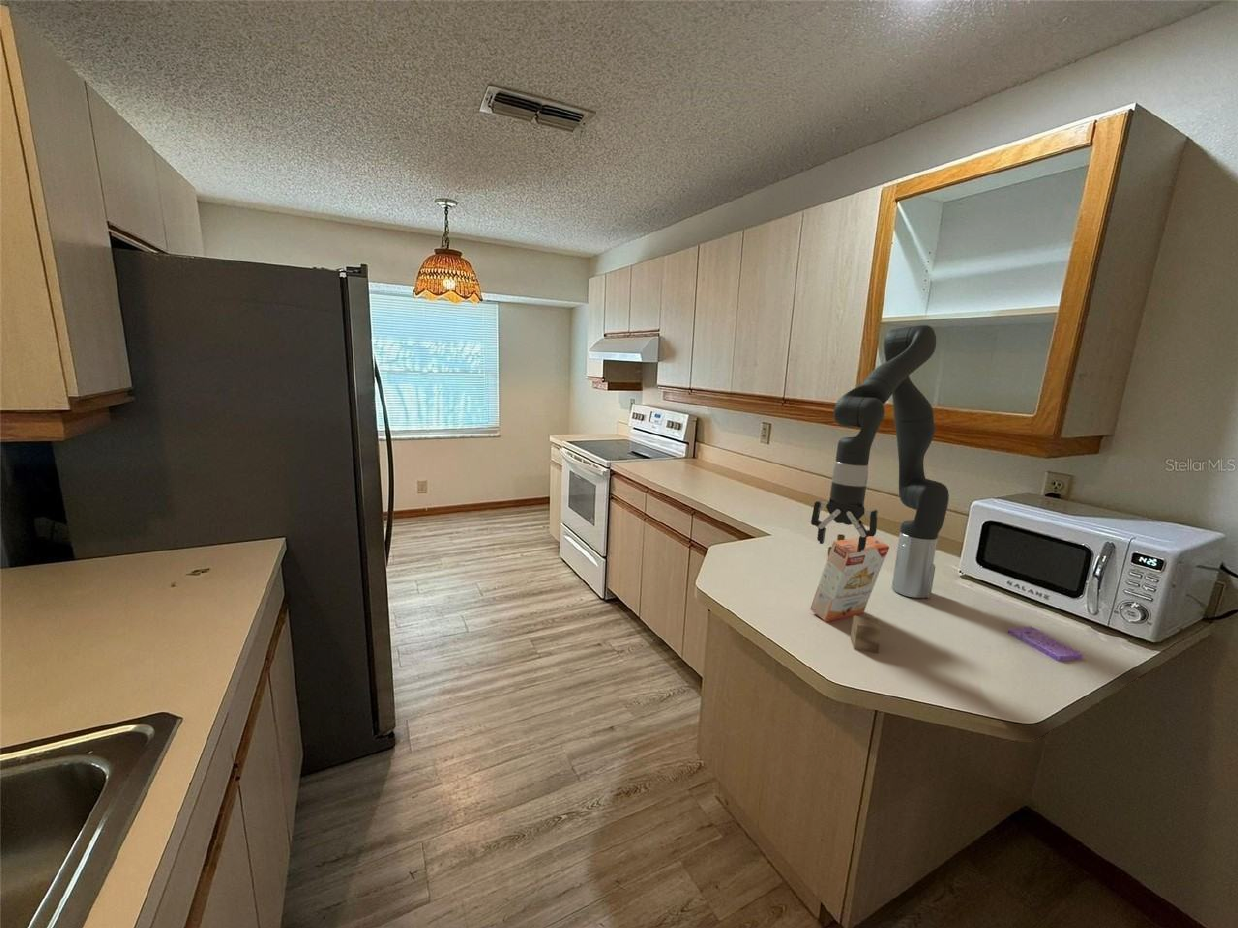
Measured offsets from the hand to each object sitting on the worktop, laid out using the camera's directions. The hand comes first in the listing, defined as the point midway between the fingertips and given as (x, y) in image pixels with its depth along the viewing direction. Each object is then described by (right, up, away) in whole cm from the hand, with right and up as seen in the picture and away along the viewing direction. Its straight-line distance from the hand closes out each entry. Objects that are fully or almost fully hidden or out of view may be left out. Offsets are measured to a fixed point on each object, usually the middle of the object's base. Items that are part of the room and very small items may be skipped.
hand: (840, 547), depth 121 cm
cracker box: (+4, -19, +10) cm, 21 cm away
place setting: (+24, -13, +50) cm, 57 cm away
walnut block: (+3, -22, -5) cm, 23 cm away
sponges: (+48, -24, -2) cm, 54 cm away
